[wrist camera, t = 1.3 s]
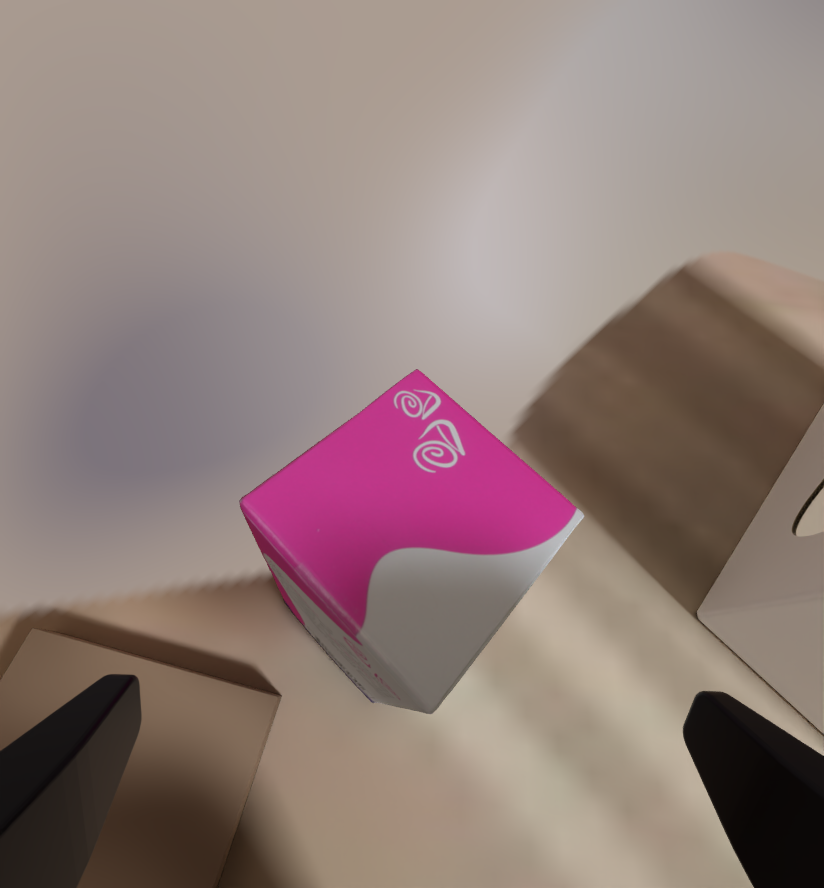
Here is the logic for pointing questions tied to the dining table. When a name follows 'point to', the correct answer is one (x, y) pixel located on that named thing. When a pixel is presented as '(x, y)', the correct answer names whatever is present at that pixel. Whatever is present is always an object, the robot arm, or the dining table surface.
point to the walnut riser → (153, 758)
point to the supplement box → (407, 541)
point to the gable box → (780, 584)
